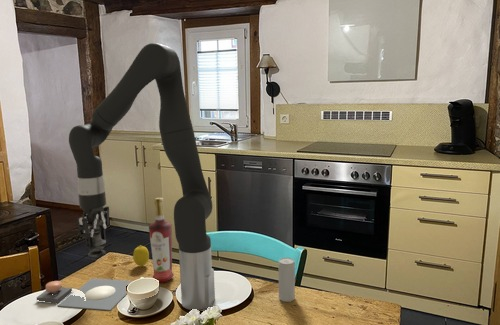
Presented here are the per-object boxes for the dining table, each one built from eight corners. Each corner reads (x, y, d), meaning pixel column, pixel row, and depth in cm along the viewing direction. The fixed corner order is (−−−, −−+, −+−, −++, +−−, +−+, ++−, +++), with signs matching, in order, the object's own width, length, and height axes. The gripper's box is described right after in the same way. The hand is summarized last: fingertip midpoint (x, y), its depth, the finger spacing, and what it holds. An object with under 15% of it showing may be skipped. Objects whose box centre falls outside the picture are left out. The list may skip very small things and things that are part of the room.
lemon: (147, 269, 141) (146, 248, 140) (132, 269, 141) (130, 248, 140) (151, 263, 147) (150, 242, 145) (136, 263, 147) (135, 242, 145)
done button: (65, 289, 124) (64, 281, 124) (56, 296, 120) (55, 287, 119) (52, 289, 125) (51, 280, 124) (43, 295, 121) (42, 286, 120)
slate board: (138, 282, 131) (138, 281, 131) (110, 310, 114) (110, 309, 114) (91, 279, 134) (91, 278, 134) (57, 306, 117) (57, 305, 117)
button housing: (72, 292, 125) (71, 287, 125) (57, 303, 119) (57, 298, 118) (52, 290, 127) (51, 286, 126) (37, 301, 120) (36, 297, 120)
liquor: (177, 275, 136) (173, 195, 132) (170, 285, 129) (165, 201, 124) (157, 274, 137) (152, 195, 133) (148, 284, 130) (143, 201, 125)
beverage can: (285, 293, 122) (285, 256, 120) (298, 298, 119) (298, 260, 117) (275, 298, 119) (275, 260, 117) (287, 304, 115) (287, 265, 114)
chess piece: (100, 258, 119) (96, 219, 117) (82, 256, 120) (79, 218, 118) (110, 250, 124) (107, 213, 122) (94, 249, 125) (90, 213, 124)
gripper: (89, 197, 111) (94, 254, 114) (115, 186, 125) (119, 237, 128) (65, 196, 113) (71, 253, 115) (93, 185, 127) (98, 236, 129)
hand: (96, 244), depth 122 cm, fingers closed on chess piece, 6 cm apart
